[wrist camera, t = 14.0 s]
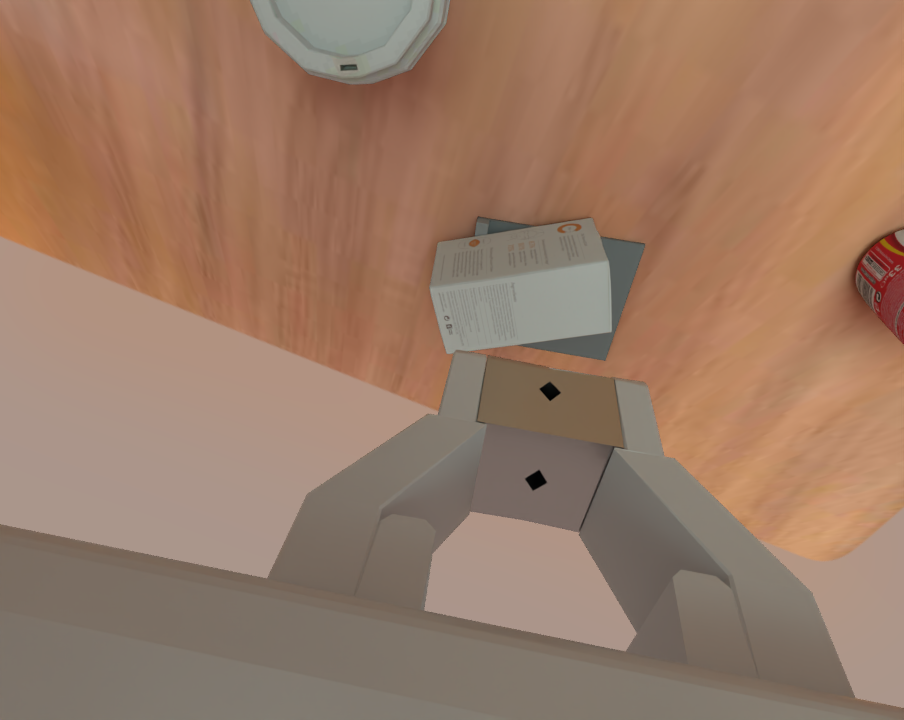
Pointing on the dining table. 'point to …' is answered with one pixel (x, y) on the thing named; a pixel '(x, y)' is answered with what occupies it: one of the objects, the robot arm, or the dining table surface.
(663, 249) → the dining table surface
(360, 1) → the disposable coffee cup
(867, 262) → the soda can
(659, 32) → the dining table surface
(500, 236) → the small box
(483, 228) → the mat
